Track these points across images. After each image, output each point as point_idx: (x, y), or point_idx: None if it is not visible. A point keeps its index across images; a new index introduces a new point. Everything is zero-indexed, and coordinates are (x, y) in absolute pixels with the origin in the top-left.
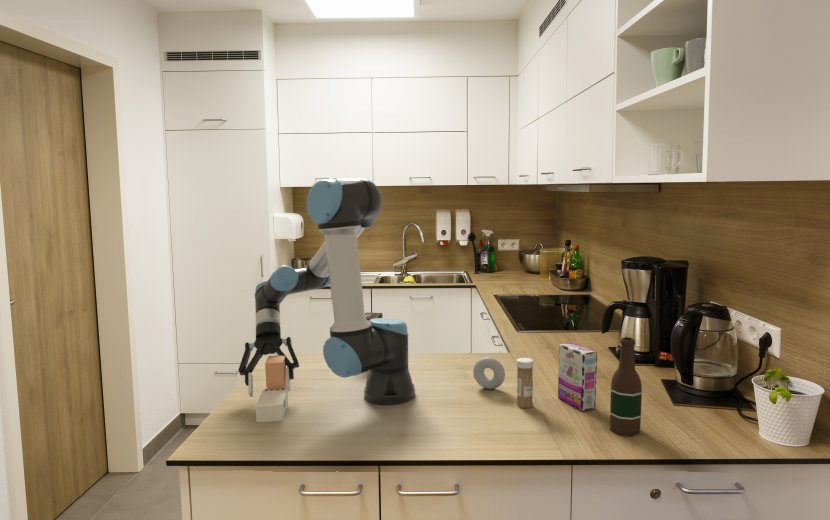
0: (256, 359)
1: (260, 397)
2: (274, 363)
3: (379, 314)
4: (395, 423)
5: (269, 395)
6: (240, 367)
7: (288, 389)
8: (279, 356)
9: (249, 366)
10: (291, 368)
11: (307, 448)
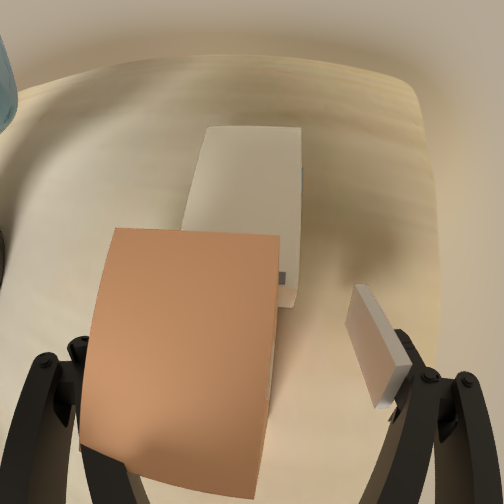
0: (383, 478)
1: (296, 198)
2: (185, 232)
3: None
4: (27, 147)
5: (256, 211)
6: (476, 394)
7: None
8: (128, 437)
9: (423, 406)
10: None
11: (182, 70)
